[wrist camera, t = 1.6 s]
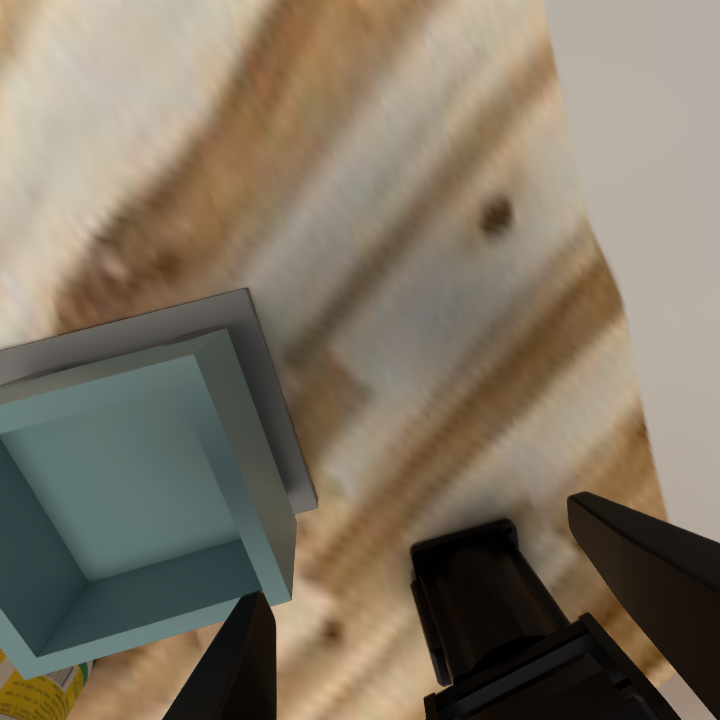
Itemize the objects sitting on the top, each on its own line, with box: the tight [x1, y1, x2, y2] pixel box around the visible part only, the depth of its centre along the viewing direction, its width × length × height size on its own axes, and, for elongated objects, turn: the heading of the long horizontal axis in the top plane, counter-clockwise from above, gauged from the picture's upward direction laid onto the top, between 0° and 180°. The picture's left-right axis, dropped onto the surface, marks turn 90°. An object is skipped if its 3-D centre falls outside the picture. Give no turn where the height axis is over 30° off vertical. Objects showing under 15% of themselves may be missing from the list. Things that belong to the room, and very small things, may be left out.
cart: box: [0, 326, 297, 680], centre depth 14 cm, size 10×10×6 cm
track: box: [0, 288, 318, 515], centre depth 17 cm, size 24×12×1 cm, turn 104°
